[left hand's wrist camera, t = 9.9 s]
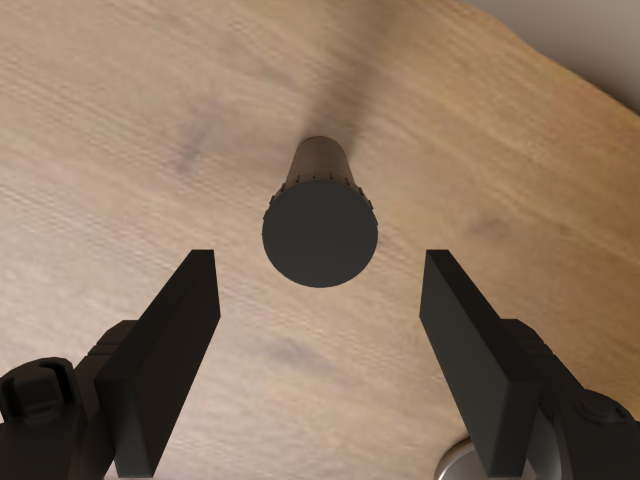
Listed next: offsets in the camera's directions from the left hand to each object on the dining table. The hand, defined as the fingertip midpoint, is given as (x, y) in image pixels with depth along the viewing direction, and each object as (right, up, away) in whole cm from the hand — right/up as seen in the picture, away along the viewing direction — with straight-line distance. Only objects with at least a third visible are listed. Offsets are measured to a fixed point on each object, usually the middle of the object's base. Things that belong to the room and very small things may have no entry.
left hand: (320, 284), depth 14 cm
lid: (0, +2, +5) cm, 5 cm away
